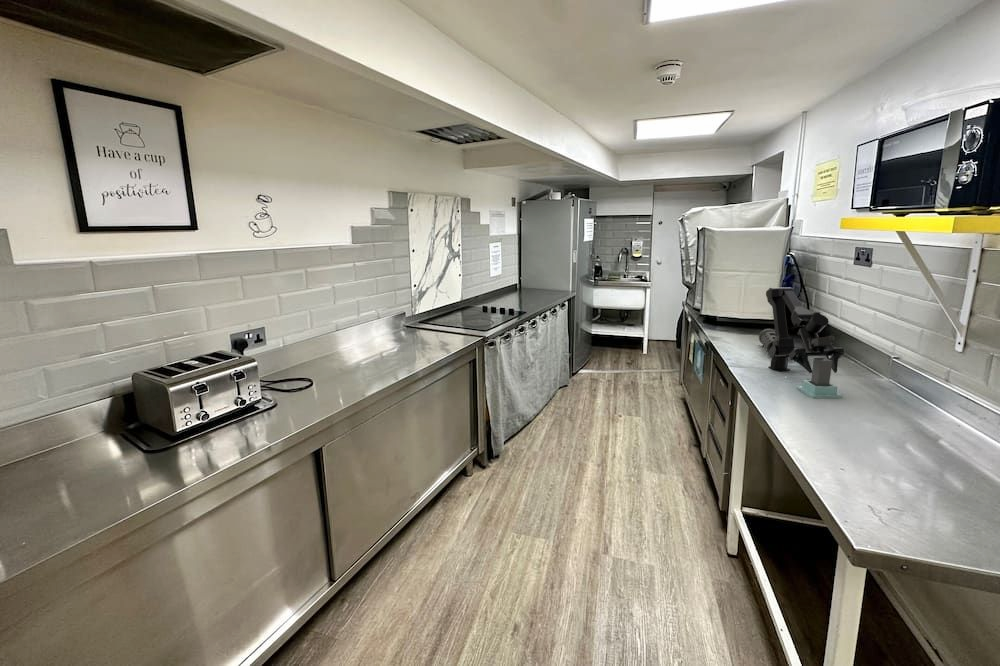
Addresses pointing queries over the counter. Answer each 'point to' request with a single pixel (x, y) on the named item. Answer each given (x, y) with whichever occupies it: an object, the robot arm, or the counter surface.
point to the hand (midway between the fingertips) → (823, 372)
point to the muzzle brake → (767, 338)
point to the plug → (821, 372)
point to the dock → (819, 390)
